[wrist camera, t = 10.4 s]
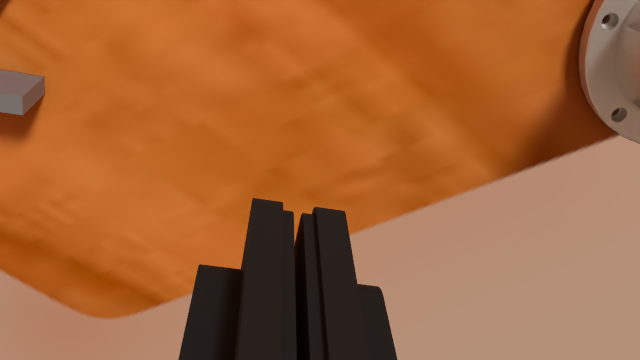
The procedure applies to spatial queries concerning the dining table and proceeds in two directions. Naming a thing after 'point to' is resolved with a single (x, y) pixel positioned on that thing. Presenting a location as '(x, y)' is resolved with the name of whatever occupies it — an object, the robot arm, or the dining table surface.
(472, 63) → the dining table surface
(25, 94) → the box
